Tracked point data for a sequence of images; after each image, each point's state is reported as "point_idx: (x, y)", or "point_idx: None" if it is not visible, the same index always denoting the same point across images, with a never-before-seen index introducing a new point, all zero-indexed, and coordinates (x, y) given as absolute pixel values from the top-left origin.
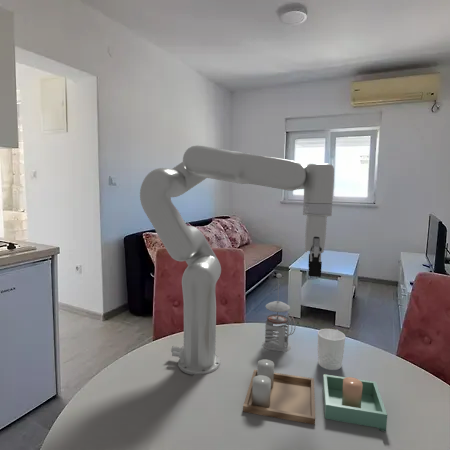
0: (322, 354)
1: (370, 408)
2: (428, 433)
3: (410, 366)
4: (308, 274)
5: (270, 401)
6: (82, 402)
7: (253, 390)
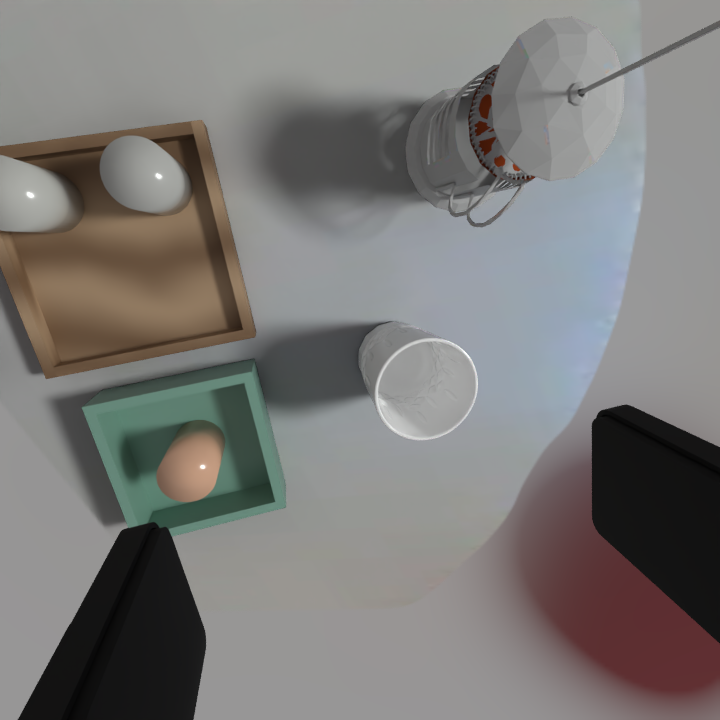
0: (370, 349)
1: None
2: (196, 586)
3: (475, 543)
4: (119, 536)
5: (79, 229)
6: None
7: None
